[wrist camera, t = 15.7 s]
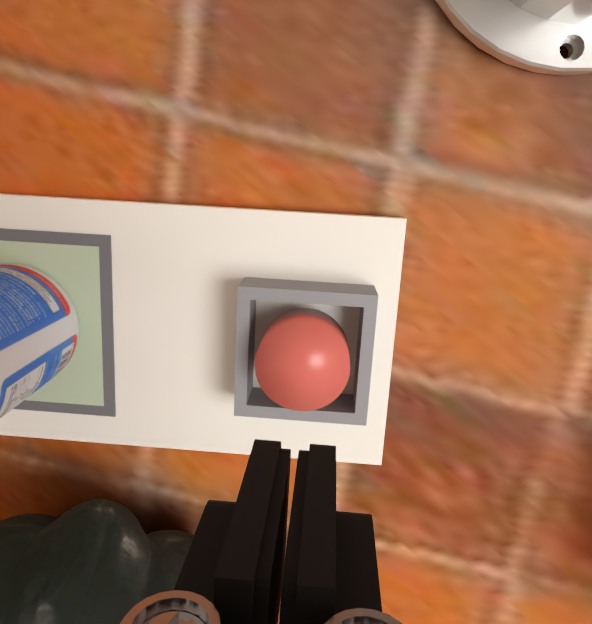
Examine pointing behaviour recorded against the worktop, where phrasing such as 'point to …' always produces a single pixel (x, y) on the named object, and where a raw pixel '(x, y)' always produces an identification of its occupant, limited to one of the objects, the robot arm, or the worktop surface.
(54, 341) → the pill bottle
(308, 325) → the button
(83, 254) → the white flat board
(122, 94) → the worktop surface
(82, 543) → the squash
